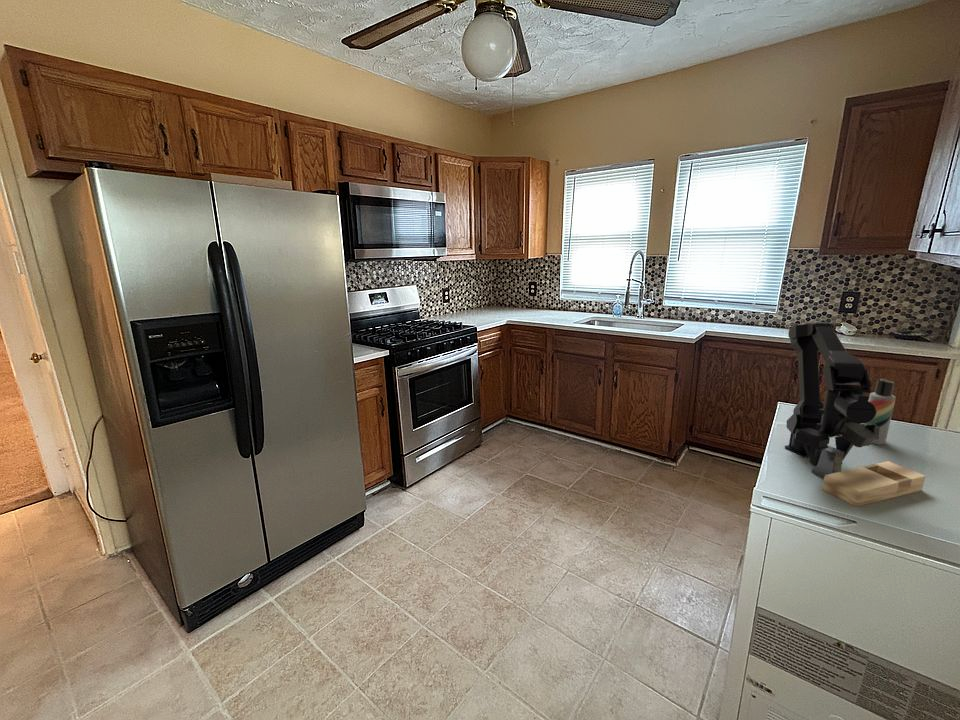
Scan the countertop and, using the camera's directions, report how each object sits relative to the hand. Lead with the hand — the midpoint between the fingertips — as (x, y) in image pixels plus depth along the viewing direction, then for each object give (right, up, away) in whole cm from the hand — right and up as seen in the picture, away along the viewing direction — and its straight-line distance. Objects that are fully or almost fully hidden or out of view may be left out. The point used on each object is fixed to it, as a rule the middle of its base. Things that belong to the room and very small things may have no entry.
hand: (827, 462), depth 112 cm
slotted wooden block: (+6, -5, -6) cm, 10 cm away
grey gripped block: (0, -4, +1) cm, 4 cm away
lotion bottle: (+30, +2, +19) cm, 36 cm away
